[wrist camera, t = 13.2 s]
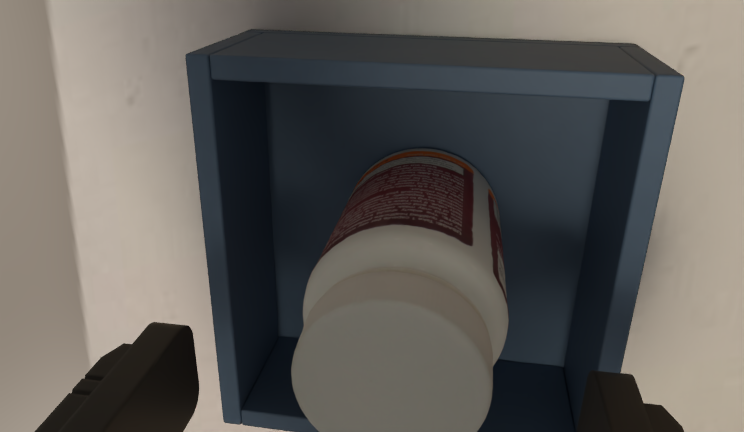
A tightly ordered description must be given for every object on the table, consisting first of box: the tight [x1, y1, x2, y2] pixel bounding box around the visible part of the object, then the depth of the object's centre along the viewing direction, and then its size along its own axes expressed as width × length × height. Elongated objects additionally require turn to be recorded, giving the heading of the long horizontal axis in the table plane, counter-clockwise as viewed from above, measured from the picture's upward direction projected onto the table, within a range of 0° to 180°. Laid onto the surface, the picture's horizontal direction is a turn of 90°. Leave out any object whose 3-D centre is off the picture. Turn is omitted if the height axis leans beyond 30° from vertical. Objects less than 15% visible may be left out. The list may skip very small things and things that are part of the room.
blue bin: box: [186, 29, 684, 432], centre depth 18 cm, size 11×11×5 cm
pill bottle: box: [291, 148, 509, 432], centre depth 16 cm, size 5×5×8 cm
